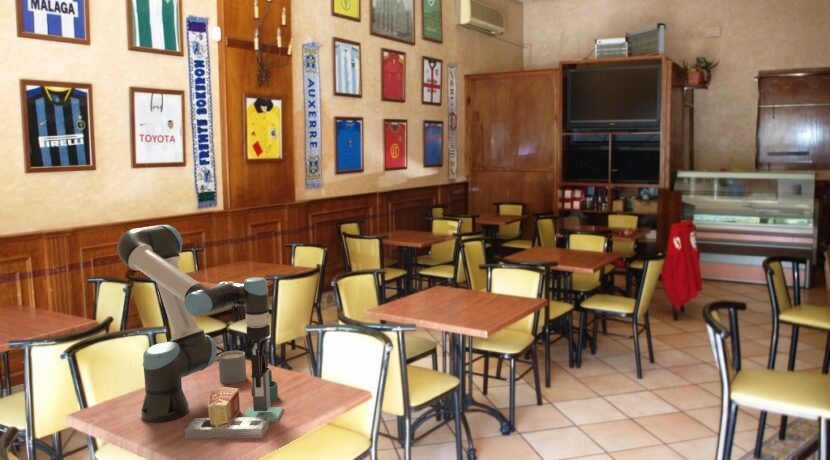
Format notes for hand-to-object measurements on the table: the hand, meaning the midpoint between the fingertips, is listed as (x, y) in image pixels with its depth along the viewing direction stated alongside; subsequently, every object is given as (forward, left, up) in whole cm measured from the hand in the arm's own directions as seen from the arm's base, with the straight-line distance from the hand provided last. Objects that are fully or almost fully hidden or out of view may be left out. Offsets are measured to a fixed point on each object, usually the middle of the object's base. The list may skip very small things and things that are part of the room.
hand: (261, 392), depth 231 cm
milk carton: (-13, +4, -4) cm, 14 cm away
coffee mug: (-20, +38, -8) cm, 44 cm away
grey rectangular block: (0, 0, -5) cm, 5 cm away
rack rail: (-8, -13, -8) cm, 17 cm away
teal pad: (0, 0, -8) cm, 8 cm away
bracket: (-3, +16, -8) cm, 18 cm away
